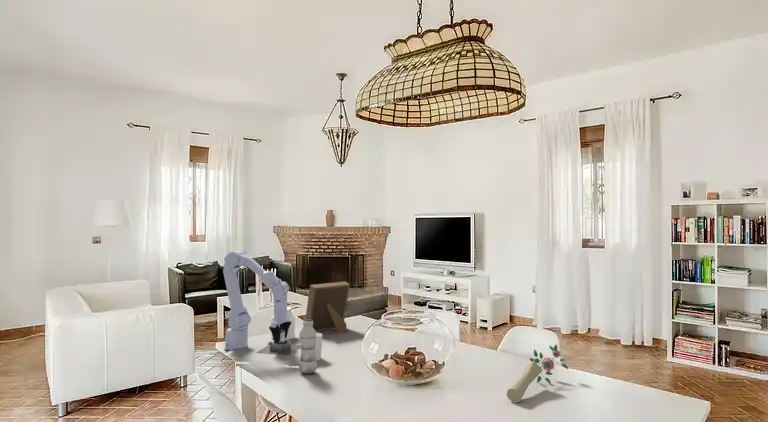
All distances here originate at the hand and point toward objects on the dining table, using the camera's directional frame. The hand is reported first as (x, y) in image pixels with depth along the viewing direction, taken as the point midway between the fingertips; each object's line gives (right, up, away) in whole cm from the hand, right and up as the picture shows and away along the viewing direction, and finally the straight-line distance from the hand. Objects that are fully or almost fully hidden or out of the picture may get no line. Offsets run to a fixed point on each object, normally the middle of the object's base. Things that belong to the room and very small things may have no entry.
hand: (280, 340), depth 215 cm
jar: (-3, -5, +21) cm, 22 cm away
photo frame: (+18, -6, +37) cm, 41 cm away
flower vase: (+99, -5, -46) cm, 109 cm away
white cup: (+16, -5, -11) cm, 20 cm away
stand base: (0, -5, 0) cm, 5 cm away
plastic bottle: (+17, -5, -29) cm, 34 cm away
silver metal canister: (0, -4, 0) cm, 4 cm away
